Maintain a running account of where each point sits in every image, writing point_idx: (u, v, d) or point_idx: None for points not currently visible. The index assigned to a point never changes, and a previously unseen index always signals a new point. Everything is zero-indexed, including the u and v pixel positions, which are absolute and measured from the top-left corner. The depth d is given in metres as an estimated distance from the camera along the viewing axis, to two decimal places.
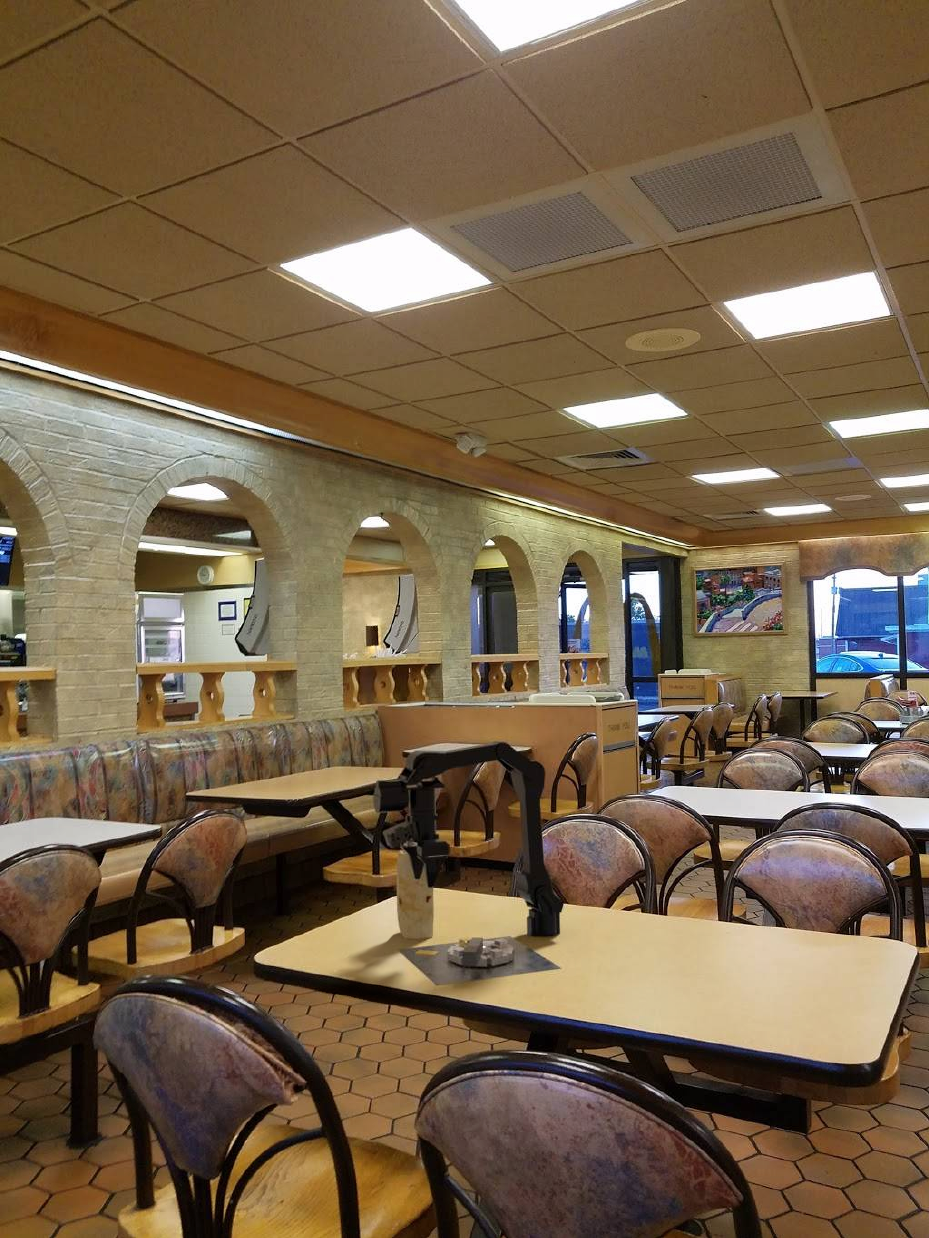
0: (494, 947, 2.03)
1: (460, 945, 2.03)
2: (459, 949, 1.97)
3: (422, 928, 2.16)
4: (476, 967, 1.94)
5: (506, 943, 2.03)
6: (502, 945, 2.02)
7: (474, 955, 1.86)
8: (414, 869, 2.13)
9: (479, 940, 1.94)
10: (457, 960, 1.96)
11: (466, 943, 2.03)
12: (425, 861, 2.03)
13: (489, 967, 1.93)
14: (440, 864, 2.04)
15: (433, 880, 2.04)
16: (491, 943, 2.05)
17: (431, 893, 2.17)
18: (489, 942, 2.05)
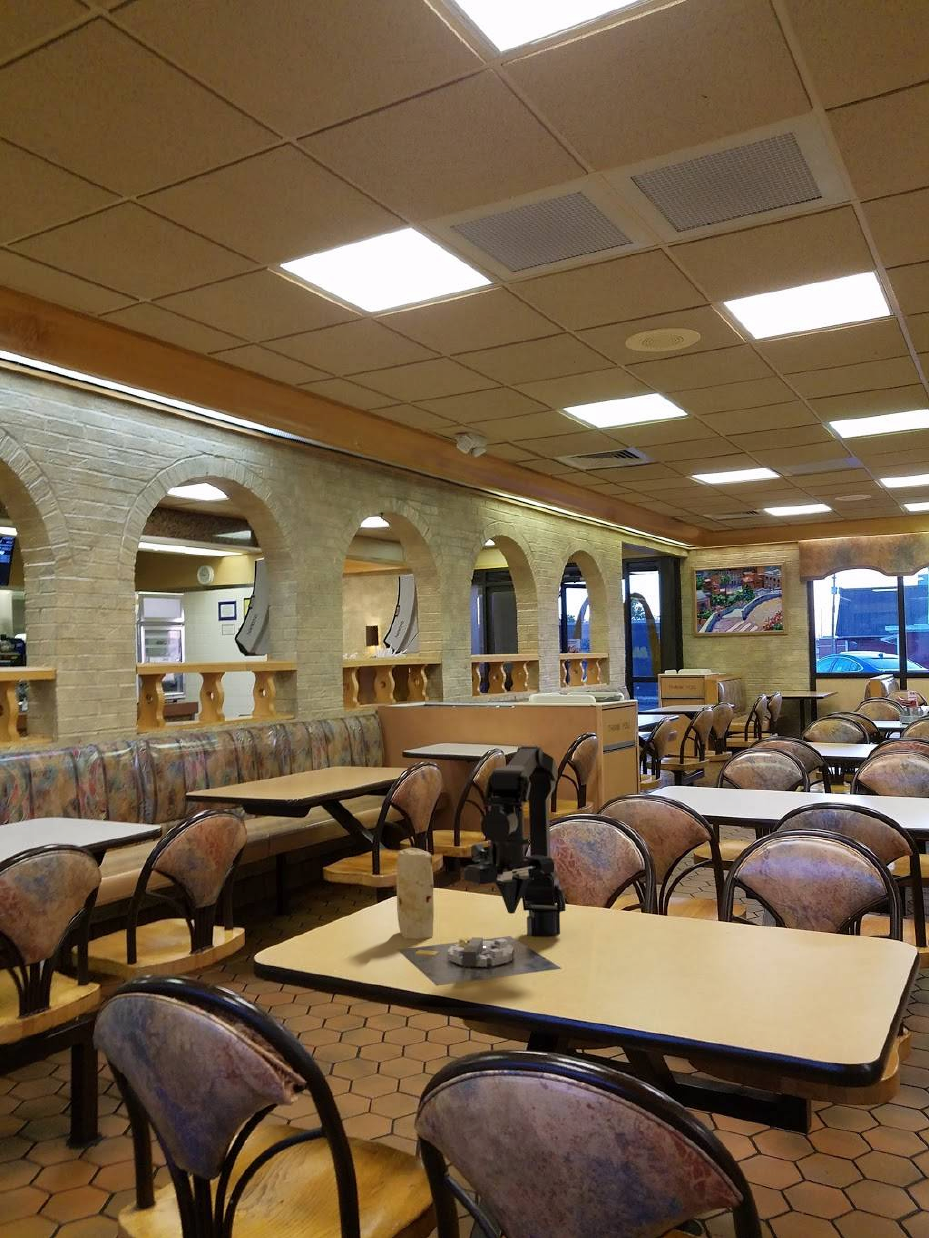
0: (494, 947, 2.03)
1: (460, 945, 2.03)
2: (459, 949, 1.97)
3: (422, 928, 2.16)
4: (476, 967, 1.94)
5: (506, 943, 2.03)
6: (502, 945, 2.02)
7: (474, 955, 1.86)
8: None
9: (479, 940, 1.94)
10: (457, 960, 1.96)
11: (466, 943, 2.03)
12: (496, 883, 1.93)
13: (489, 967, 1.93)
14: (508, 890, 1.90)
15: (509, 906, 1.91)
16: (491, 943, 2.05)
17: (431, 893, 2.17)
18: (489, 942, 2.05)
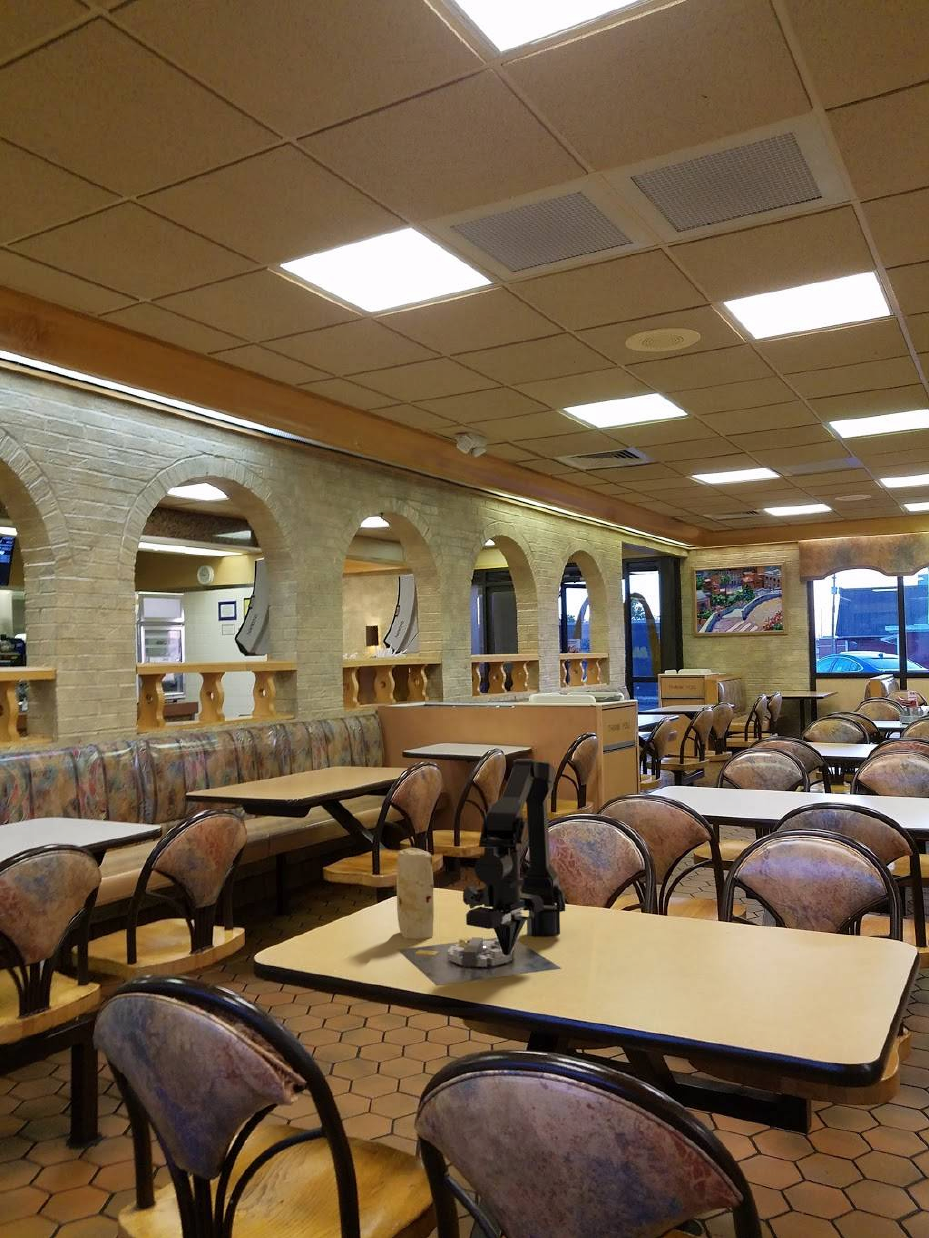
0: (494, 947, 2.03)
1: (460, 945, 2.03)
2: (459, 949, 1.97)
3: (422, 928, 2.16)
4: (476, 967, 1.94)
5: None
6: None
7: (474, 955, 1.86)
8: None
9: (479, 940, 1.94)
10: (457, 960, 1.96)
11: (466, 943, 2.03)
12: None
13: (489, 967, 1.93)
14: (508, 932, 1.89)
15: (506, 948, 1.90)
16: (491, 943, 2.05)
17: (431, 893, 2.17)
18: (489, 942, 2.05)
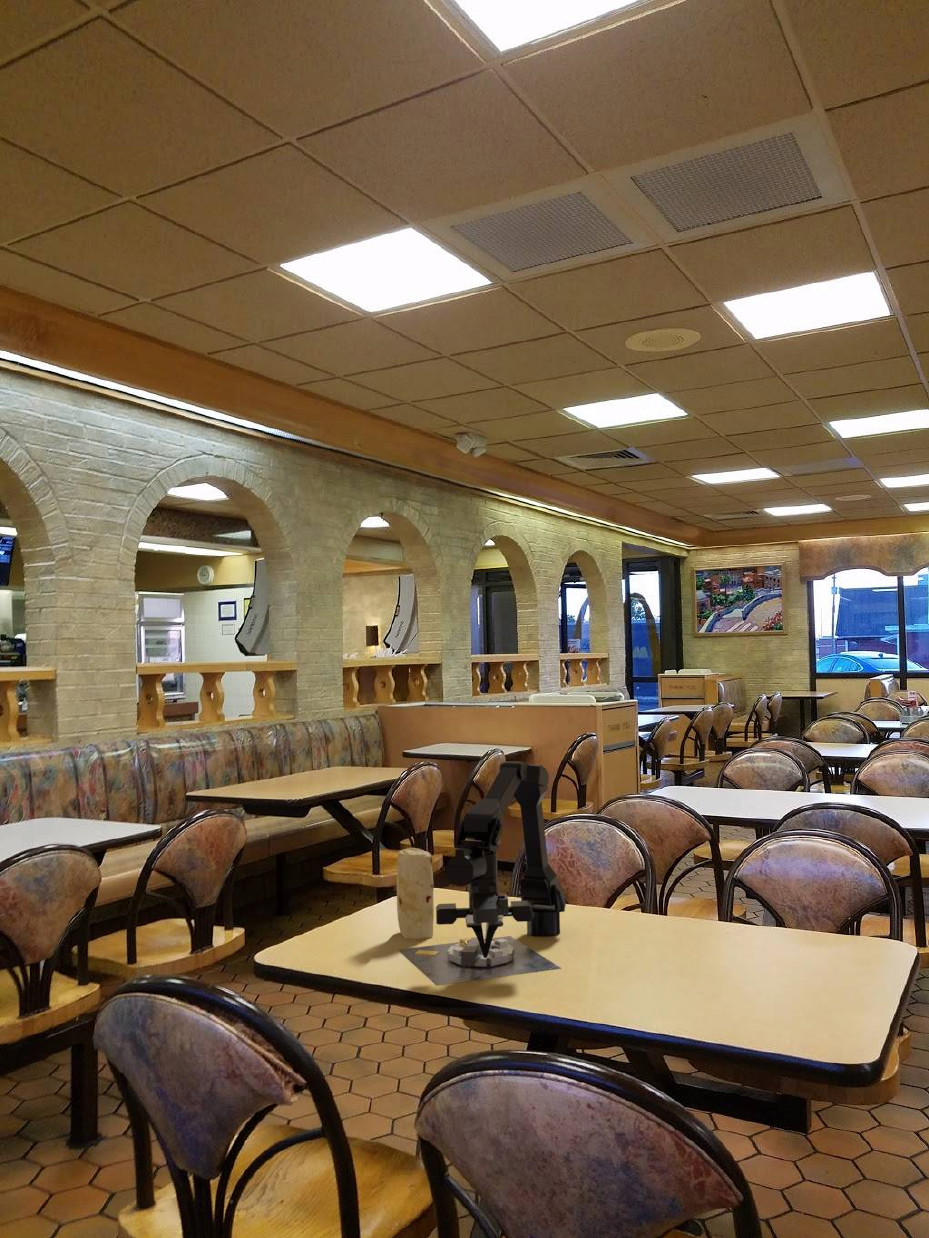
0: (494, 947, 2.03)
1: (460, 945, 2.04)
2: (459, 949, 1.97)
3: (422, 928, 2.16)
4: (476, 967, 1.94)
5: (507, 943, 2.03)
6: (502, 945, 2.02)
7: (473, 955, 1.86)
8: None
9: None
10: (457, 960, 1.96)
11: (466, 943, 2.03)
12: None
13: (489, 967, 1.93)
14: None
15: None
16: (491, 943, 2.05)
17: (431, 893, 2.17)
18: None
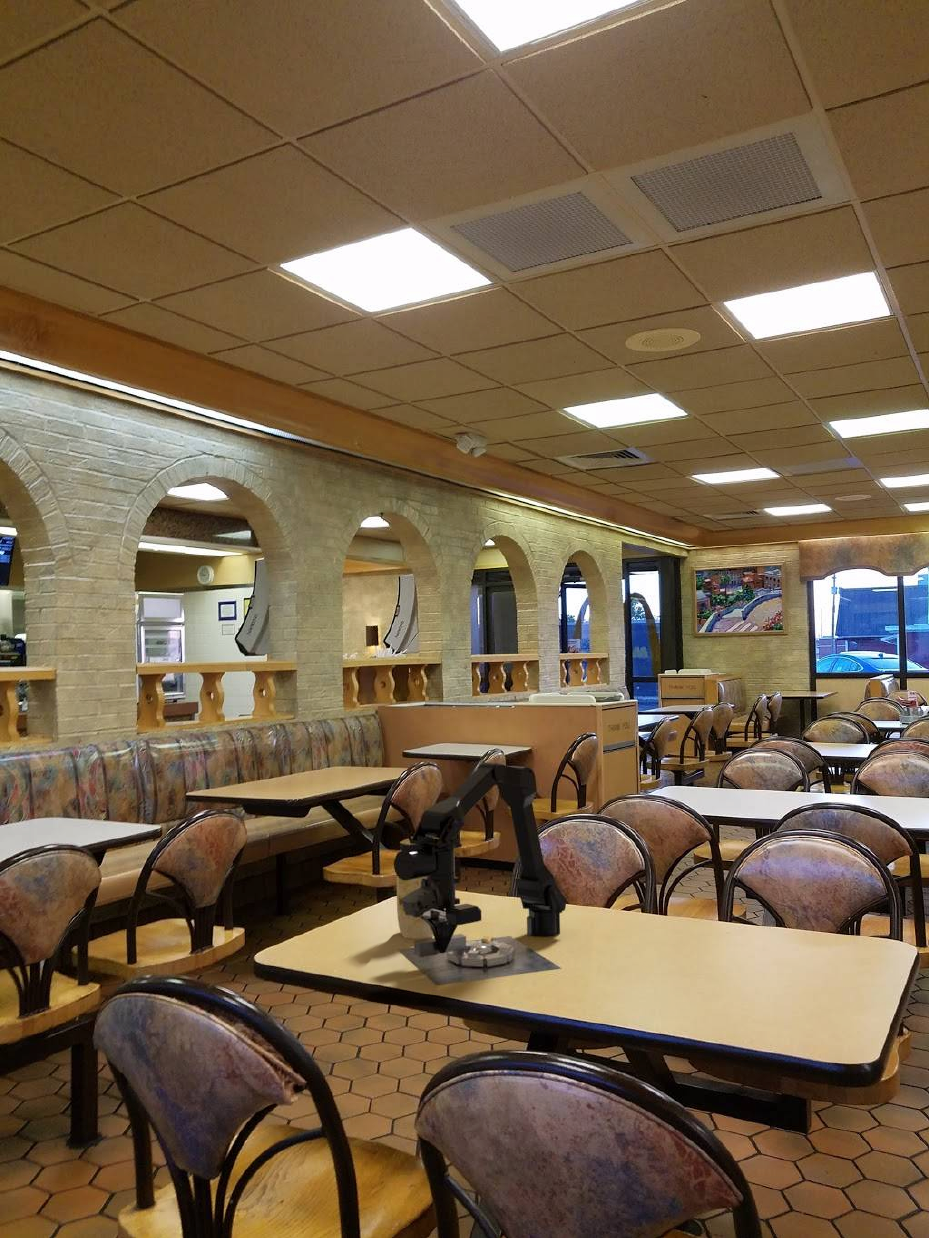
0: None
1: (480, 942, 2.06)
2: None
3: (422, 928, 2.16)
4: (476, 967, 1.94)
5: (508, 950, 1.98)
6: (502, 951, 1.98)
7: (419, 946, 1.92)
8: None
9: (455, 937, 1.97)
10: None
11: (483, 941, 2.04)
12: (441, 925, 1.91)
13: (489, 967, 1.93)
14: (454, 927, 1.93)
15: (446, 945, 1.93)
16: None
17: None
18: None
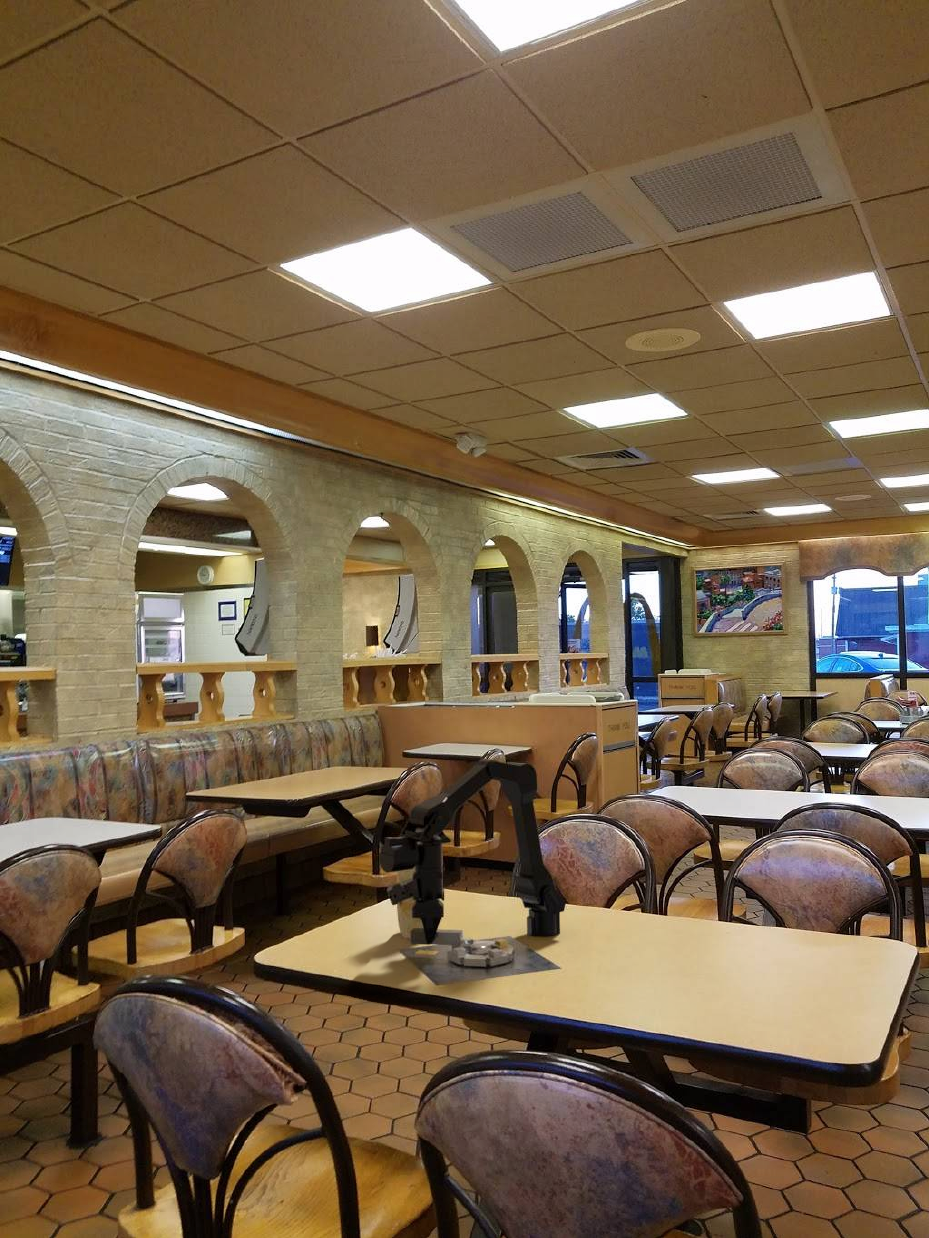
0: None
1: None
2: (465, 939, 2.05)
3: None
4: (476, 967, 1.94)
5: (493, 954, 1.95)
6: (490, 954, 1.96)
7: None
8: None
9: (450, 932, 2.01)
10: None
11: (495, 943, 2.03)
12: None
13: (489, 967, 1.93)
14: (437, 921, 1.98)
15: (431, 937, 1.99)
16: (502, 952, 1.98)
17: None
18: (506, 952, 1.98)
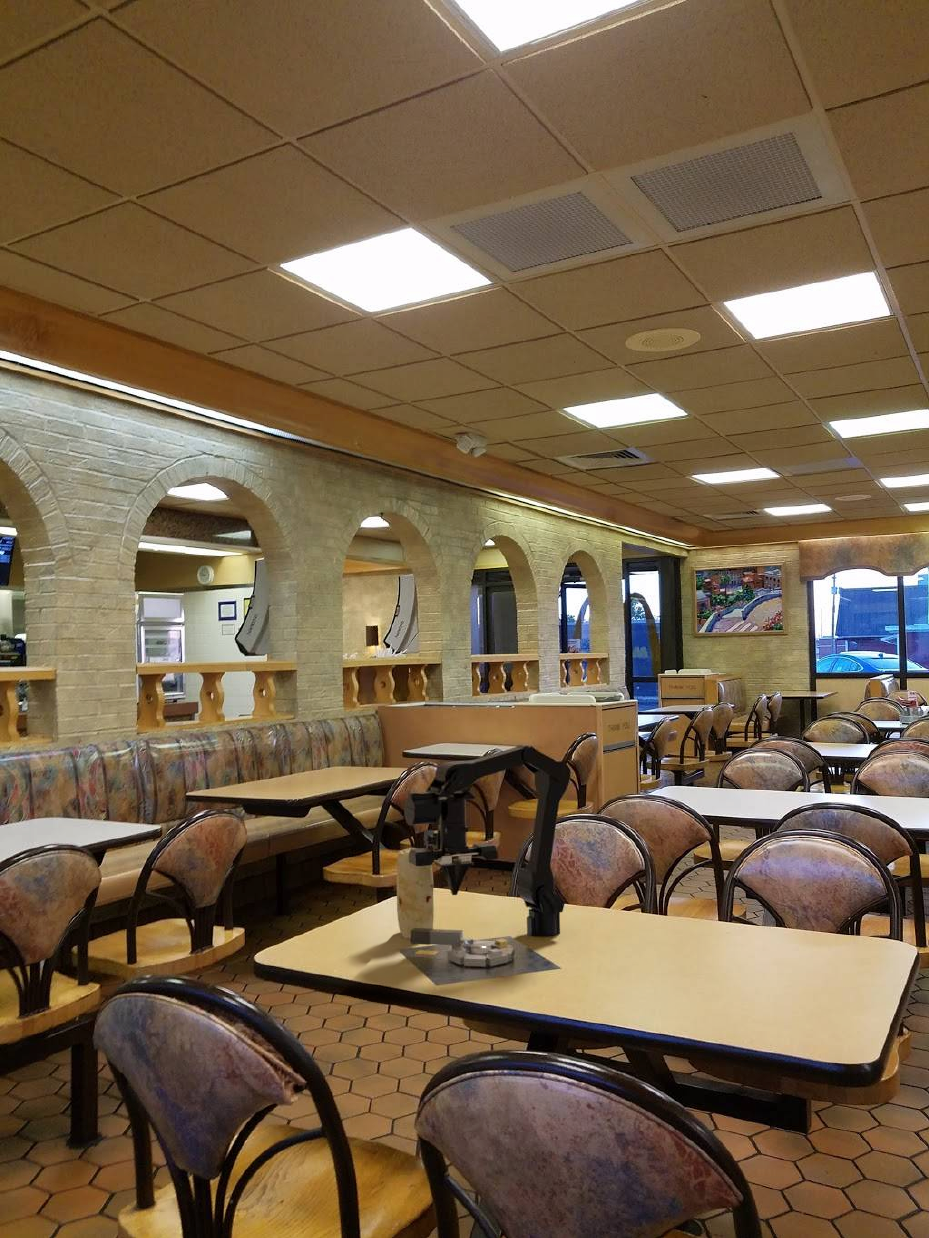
0: None
1: None
2: (465, 939, 2.05)
3: None
4: (476, 967, 1.94)
5: (493, 954, 1.95)
6: (490, 954, 1.96)
7: (411, 933, 2.02)
8: None
9: (450, 932, 2.01)
10: None
11: (495, 943, 2.03)
12: None
13: (489, 967, 1.93)
14: (448, 873, 2.07)
15: (451, 888, 2.09)
16: (502, 952, 1.98)
17: (431, 893, 2.17)
18: (506, 952, 1.98)
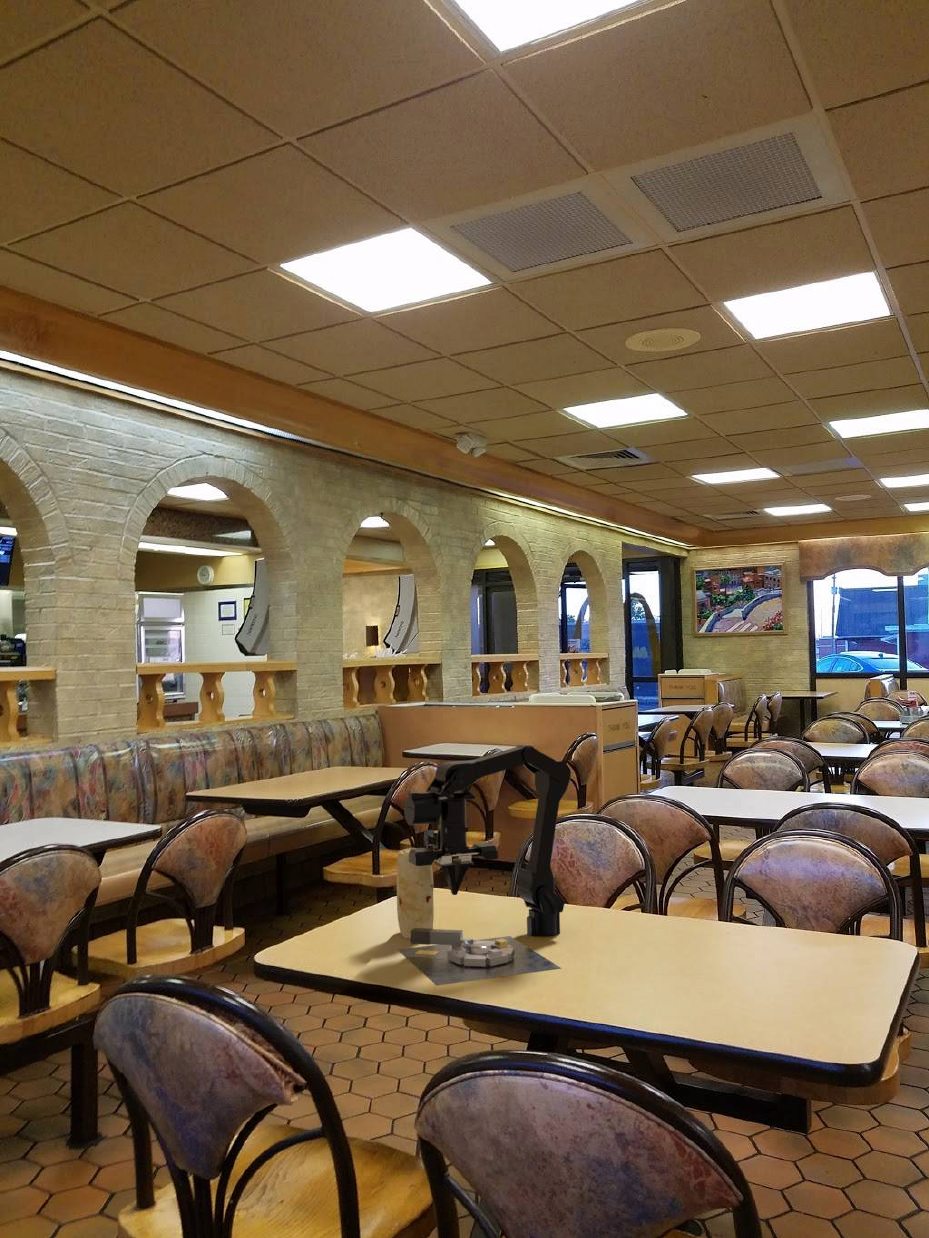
0: None
1: None
2: (465, 939, 2.05)
3: None
4: (476, 967, 1.94)
5: (493, 954, 1.95)
6: (490, 954, 1.96)
7: (411, 933, 2.02)
8: None
9: (450, 932, 2.01)
10: None
11: (495, 943, 2.03)
12: None
13: (489, 967, 1.93)
14: (448, 873, 2.07)
15: (451, 888, 2.09)
16: (502, 952, 1.98)
17: (431, 893, 2.17)
18: (506, 952, 1.98)
